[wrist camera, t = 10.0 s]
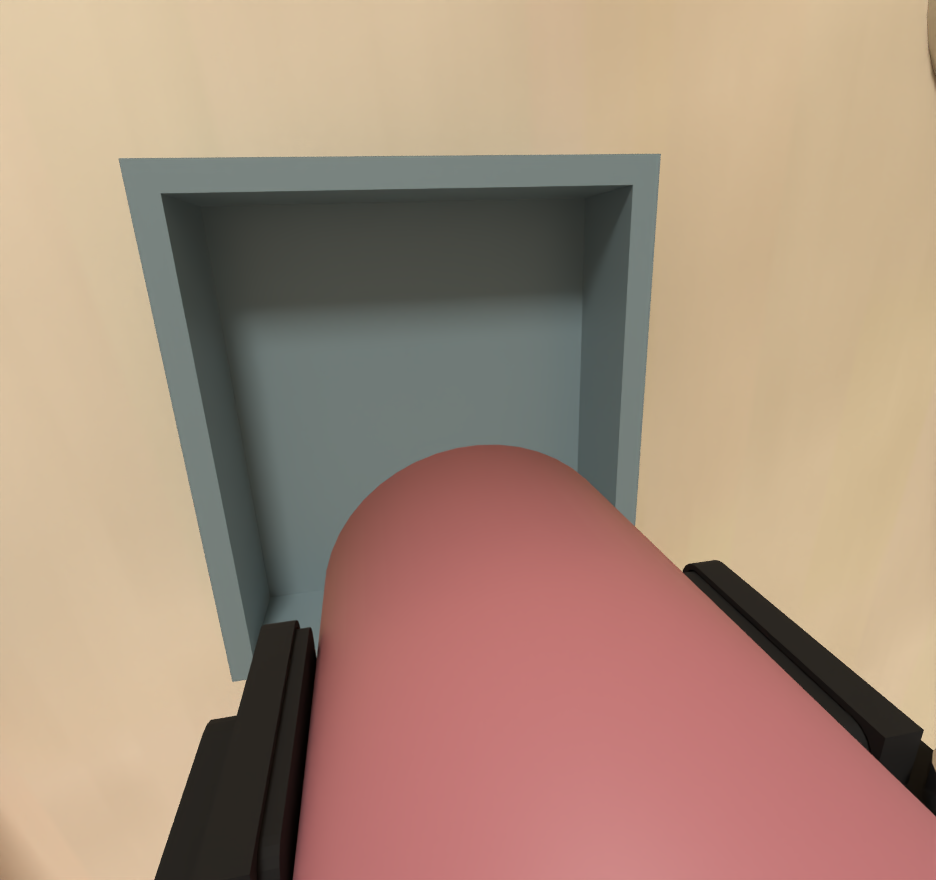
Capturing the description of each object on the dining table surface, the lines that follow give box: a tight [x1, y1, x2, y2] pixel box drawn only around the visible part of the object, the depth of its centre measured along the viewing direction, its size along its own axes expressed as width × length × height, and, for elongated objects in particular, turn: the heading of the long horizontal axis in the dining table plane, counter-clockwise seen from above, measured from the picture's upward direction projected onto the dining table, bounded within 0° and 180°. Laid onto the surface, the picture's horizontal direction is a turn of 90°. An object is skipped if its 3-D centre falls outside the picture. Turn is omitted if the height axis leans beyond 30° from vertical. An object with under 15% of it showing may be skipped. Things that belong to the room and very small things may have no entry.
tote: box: [119, 154, 661, 682], centre depth 24 cm, size 18×20×6 cm
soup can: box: [293, 445, 936, 880], centre depth 7 cm, size 6×6×10 cm
